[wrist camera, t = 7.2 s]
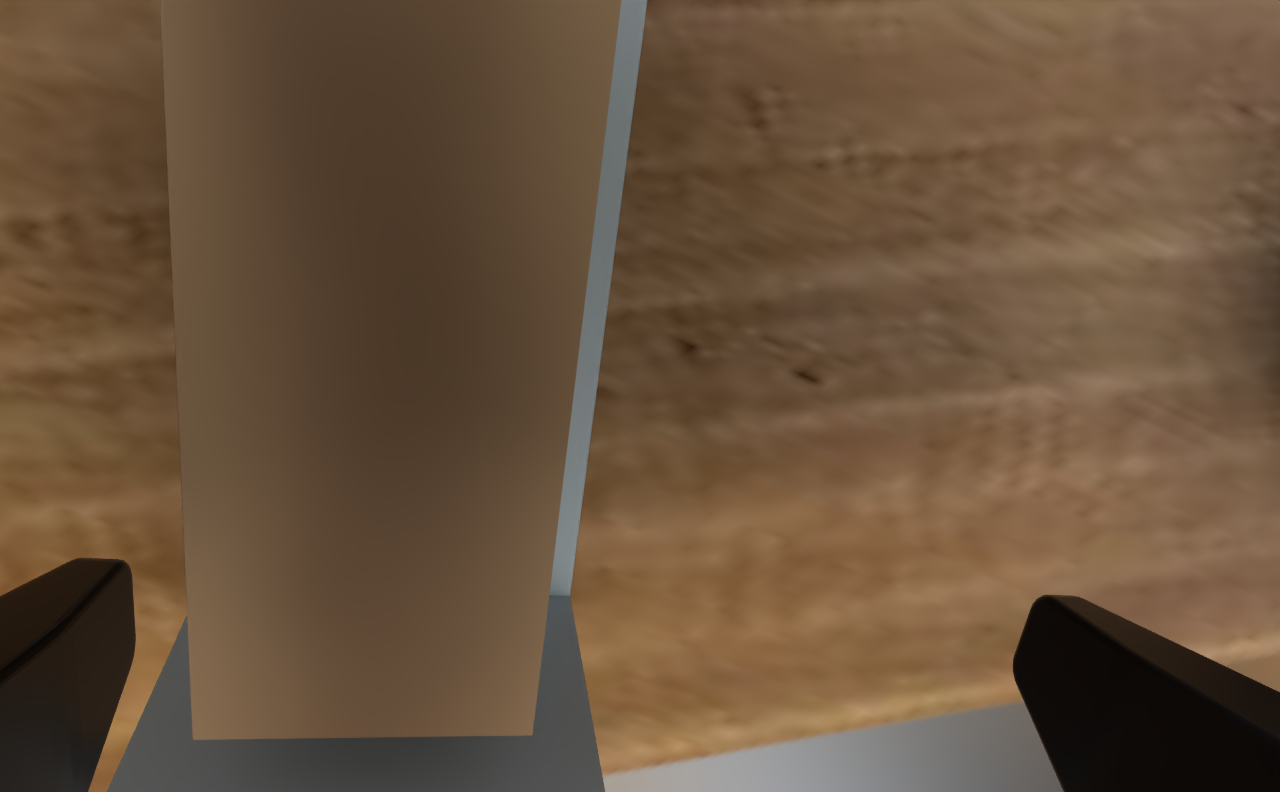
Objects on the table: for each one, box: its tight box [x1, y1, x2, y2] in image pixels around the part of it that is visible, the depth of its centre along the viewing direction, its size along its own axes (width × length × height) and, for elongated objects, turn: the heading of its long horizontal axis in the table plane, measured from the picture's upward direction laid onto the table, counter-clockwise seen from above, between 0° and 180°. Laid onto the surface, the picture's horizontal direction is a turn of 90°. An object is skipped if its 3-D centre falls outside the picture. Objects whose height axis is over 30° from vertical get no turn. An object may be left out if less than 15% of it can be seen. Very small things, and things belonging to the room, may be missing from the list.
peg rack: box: [107, 0, 647, 792], centre depth 16 cm, size 8×18×7 cm, turn 172°
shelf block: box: [160, 0, 621, 740], centre depth 14 cm, size 5×12×4 cm, turn 172°
